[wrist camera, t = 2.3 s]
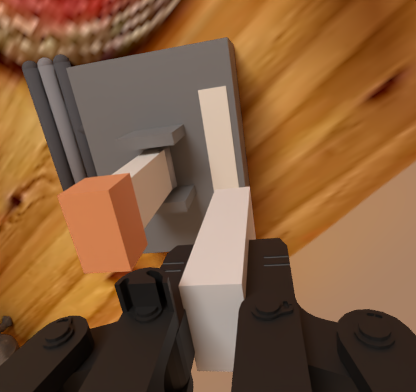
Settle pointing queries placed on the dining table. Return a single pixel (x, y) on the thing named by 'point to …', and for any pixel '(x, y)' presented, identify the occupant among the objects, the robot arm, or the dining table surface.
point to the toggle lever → (117, 211)
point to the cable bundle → (60, 118)
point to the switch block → (168, 126)
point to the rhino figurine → (6, 341)
